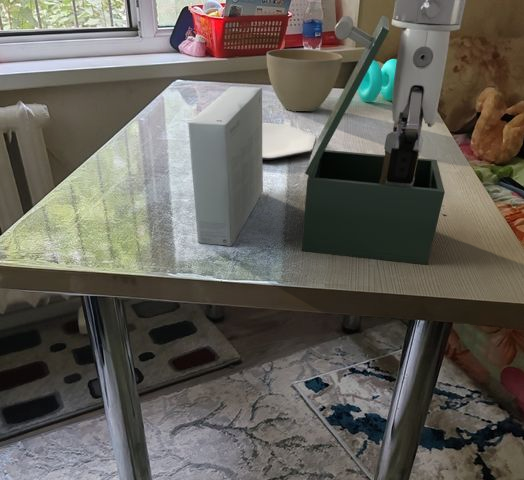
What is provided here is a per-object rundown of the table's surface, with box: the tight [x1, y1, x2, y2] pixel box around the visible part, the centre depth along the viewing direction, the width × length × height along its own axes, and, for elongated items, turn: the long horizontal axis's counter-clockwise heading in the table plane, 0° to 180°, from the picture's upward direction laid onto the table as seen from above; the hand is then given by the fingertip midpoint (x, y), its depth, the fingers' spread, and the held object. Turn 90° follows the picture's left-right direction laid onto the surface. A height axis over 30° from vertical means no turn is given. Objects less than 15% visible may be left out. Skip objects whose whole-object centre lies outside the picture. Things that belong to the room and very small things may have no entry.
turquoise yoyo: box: [356, 58, 397, 103], centre depth 144 cm, size 10×10×10 cm
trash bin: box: [301, 149, 446, 266], centre depth 74 cm, size 17×13×10 cm
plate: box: [262, 122, 317, 161], centre depth 111 cm, size 24×24×2 cm
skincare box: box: [187, 86, 264, 247], centre depth 77 cm, size 21×5×16 cm, turn 168°
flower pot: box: [266, 48, 343, 112], centre depth 134 cm, size 18×18×12 cm
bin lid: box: [304, 15, 390, 177], centre depth 67 cm, size 17×13×5 cm
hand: (398, 171), depth 71 cm, fingers open, 6 cm apart
